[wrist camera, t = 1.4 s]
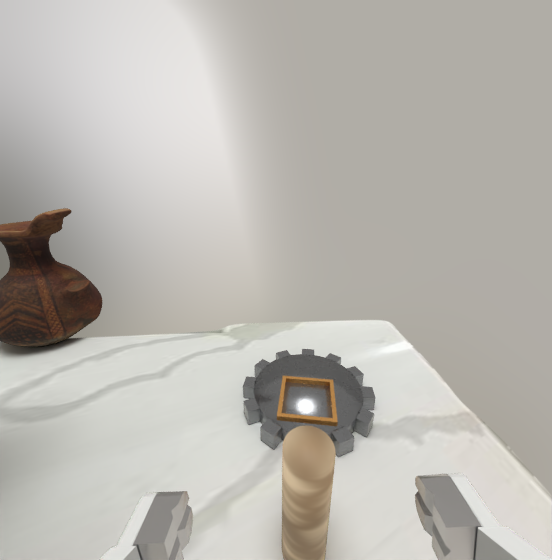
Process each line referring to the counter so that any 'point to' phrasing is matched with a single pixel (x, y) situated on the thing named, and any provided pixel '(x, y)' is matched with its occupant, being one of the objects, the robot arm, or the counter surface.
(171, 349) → the counter surface
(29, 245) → the jug
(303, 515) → the drive pin
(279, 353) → the sprocket
